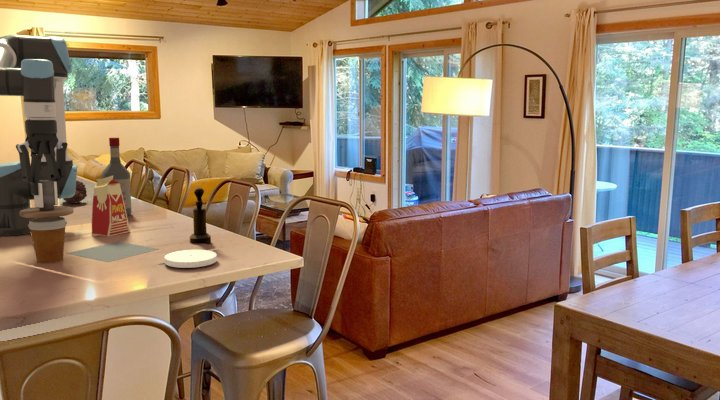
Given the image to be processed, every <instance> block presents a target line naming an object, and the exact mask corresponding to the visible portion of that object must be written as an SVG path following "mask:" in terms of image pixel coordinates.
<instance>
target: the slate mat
mask: <svg viewBox="0 0 720 400" xmlns="http://www.w3.org/2000/svg"><path fill="white" fill-rule="evenodd" d="M158 250H159V248H155V247H150V246H145V245H139V244H133V243H129V242H124V241H119V240H118V241H115V242H110V243H106V244H102V245H97V246H93V247H89V248H88V247H87V248H83V249H79V250H74V251H70V252H66V254H68V255H71V256H77V257H82V258H86V259H92V260H95V261H99V262H101V261H102V262H105V263H111V262H115V261H119V260H123V259H126V258H130V257H134V256H138V255H141V254H142V255H143V254H146V253H150V252H154V251H158Z"/></svg>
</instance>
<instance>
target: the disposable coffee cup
mask: <svg viewBox="0 0 720 400" xmlns="http://www.w3.org/2000/svg"><path fill="white" fill-rule="evenodd" d="M67 224H68V222H67V221H66V218H65V216H61V217H52V218H34V219H31V220H30V221H29V224H28V227H29V229H30V231H31V233H30V235H31V239H32V245H33V249H34V254H35V258H36V262H37V263H41V264H53V263H58V262H61V261H63V260H64V250H65V237H66V235H65V234H66V227H67Z"/></svg>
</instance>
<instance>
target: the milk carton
mask: <svg viewBox="0 0 720 400" xmlns="http://www.w3.org/2000/svg"><path fill="white" fill-rule="evenodd" d="M113 176H114V175H113ZM113 176H110V177H107V178H103V179H102V178H95V181H96V183H95V185H94V188H93V194H92V210H91V236H93V237H98V236H103V237H108V238H109V237H113V236H117V235H122V234H125V233H129V232H131V229H130V225H129V219H128V216H127V214H126V209H125V205H124V200H123V196H122V191H121V187H120V183H119V182H117V181H115V180H113Z"/></svg>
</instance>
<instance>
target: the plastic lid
mask: <svg viewBox="0 0 720 400" xmlns="http://www.w3.org/2000/svg"><path fill="white" fill-rule="evenodd" d="M163 259H164V264H165V265H167V266H168V267H172V268H179V269H180V268H183V269H186V268H188V269H189V268H200V267H206V266H210V265H214V264H215V263H216V262H217V260H218V254H217V253H216V252H215V251H212V250H208V249H207V250H206V249H183V250H176V251H173V252H170V253H167V254H166V255H164V258H163Z"/></svg>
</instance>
